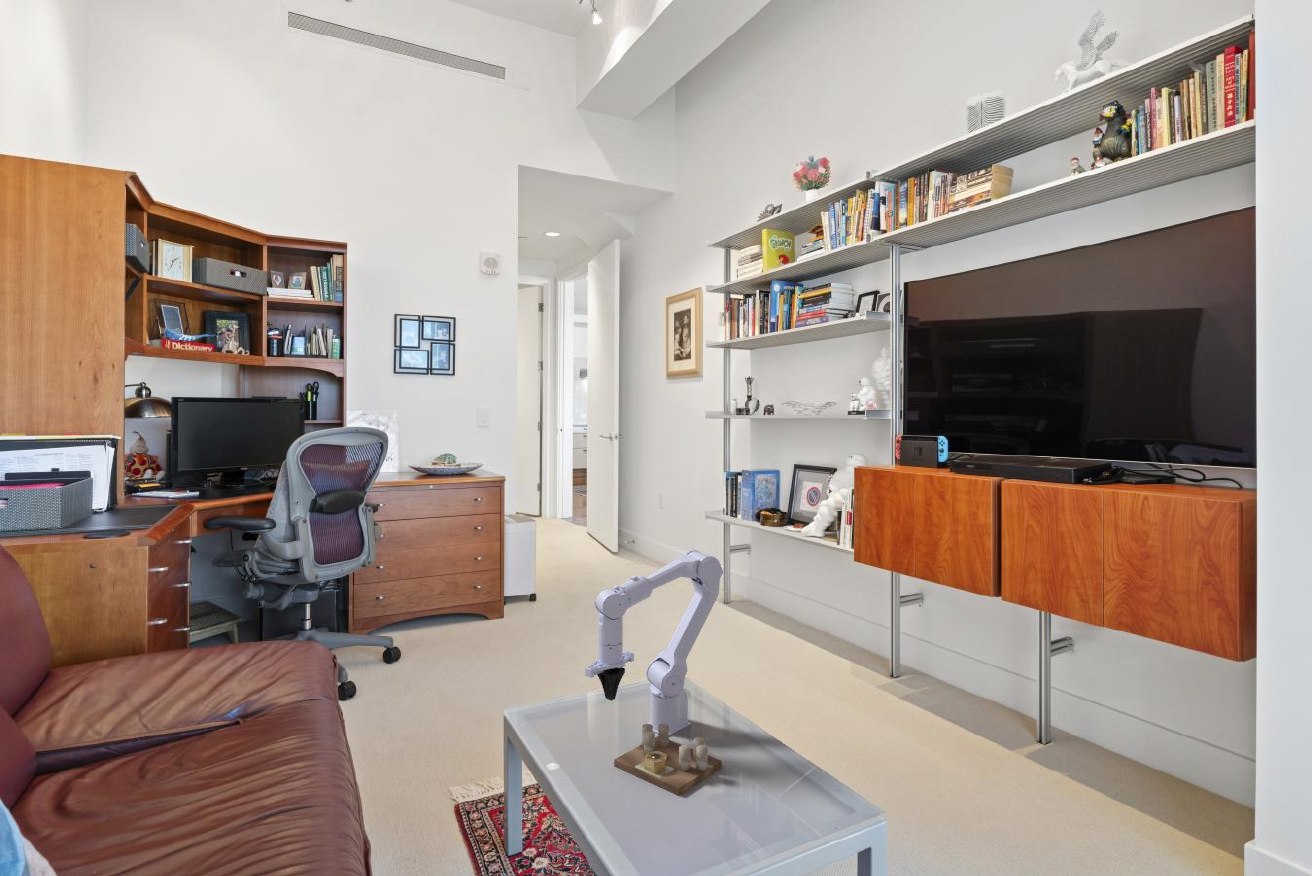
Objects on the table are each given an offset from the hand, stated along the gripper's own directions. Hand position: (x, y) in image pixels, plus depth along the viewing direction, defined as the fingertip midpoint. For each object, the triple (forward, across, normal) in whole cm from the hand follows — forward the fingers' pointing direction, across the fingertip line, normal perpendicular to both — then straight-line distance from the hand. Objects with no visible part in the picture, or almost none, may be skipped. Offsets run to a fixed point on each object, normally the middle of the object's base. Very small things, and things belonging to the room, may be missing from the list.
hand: (610, 698), depth 165 cm
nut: (+8, -6, -19) cm, 22 cm away
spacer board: (+9, -2, -19) cm, 21 cm away
